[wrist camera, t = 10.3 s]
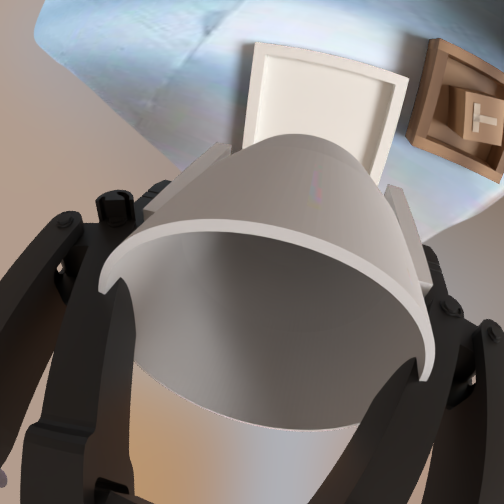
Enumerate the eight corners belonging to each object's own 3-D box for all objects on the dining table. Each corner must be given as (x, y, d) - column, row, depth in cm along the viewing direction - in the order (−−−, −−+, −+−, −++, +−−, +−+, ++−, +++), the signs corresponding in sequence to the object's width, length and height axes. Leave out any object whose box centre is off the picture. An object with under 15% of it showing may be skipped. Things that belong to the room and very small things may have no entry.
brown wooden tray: (405, 136, 23) (412, 145, 21) (429, 39, 17) (440, 38, 15) (486, 171, 22) (498, 184, 20) (514, 85, 16) (530, 91, 13)
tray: (244, 167, 30) (239, 174, 29) (260, 42, 22) (255, 42, 20) (368, 199, 28) (369, 207, 27) (404, 76, 20) (409, 78, 19)
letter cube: (447, 126, 21) (463, 139, 18) (448, 85, 18) (466, 91, 15) (482, 132, 20) (501, 146, 16) (485, 92, 17) (505, 101, 14)
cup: (195, 161, 15) (61, 299, 7) (329, 69, 10) (311, 104, 3) (285, 271, 18) (236, 433, 10) (414, 215, 13) (455, 408, 6)
